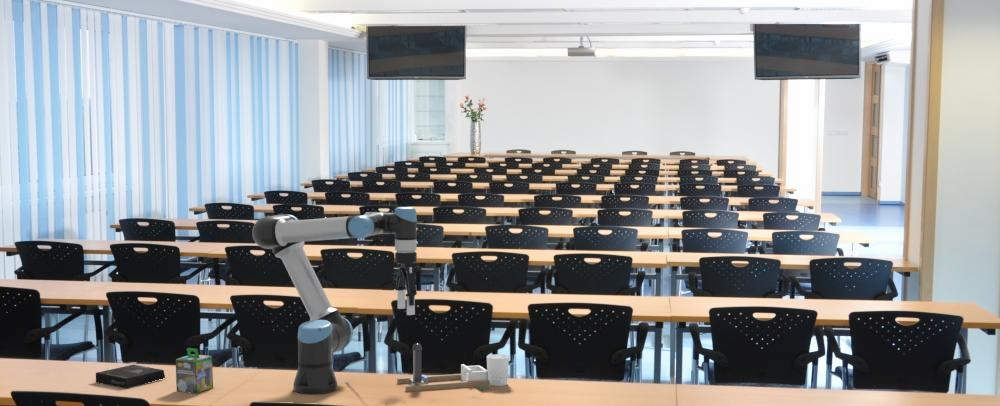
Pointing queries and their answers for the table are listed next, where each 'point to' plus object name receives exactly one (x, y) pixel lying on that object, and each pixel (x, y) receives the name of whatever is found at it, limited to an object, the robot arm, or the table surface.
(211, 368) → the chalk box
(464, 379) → the ball
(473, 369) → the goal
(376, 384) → the table surface
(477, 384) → the pitch
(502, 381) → the white cup
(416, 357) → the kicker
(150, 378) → the flat black box
